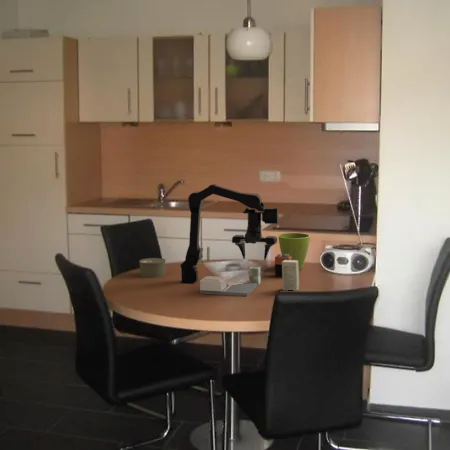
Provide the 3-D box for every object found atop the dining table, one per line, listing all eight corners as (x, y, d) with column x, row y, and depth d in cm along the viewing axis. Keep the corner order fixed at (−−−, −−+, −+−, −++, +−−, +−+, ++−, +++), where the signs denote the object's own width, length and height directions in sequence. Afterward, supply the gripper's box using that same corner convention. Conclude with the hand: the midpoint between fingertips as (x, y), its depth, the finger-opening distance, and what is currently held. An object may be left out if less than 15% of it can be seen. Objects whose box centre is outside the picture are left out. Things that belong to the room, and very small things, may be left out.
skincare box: (299, 288, 280) (299, 260, 278) (297, 291, 276) (297, 262, 274) (284, 287, 282) (284, 259, 280) (281, 290, 278) (281, 261, 276)
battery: (289, 277, 301) (289, 255, 299) (274, 276, 303) (274, 254, 302) (291, 275, 305) (291, 253, 303) (277, 274, 307) (277, 252, 306)
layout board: (199, 293, 275) (199, 290, 275) (212, 283, 291) (212, 280, 291) (247, 296, 270) (246, 293, 269) (257, 286, 286) (256, 283, 286)
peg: (249, 284, 289) (249, 268, 288) (251, 282, 293) (251, 266, 292) (258, 284, 288) (258, 269, 287) (260, 282, 292) (260, 267, 291)
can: (170, 275, 308) (170, 260, 307) (147, 279, 302) (146, 264, 301) (158, 271, 318) (157, 256, 317) (135, 274, 312) (134, 260, 311)
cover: (200, 290, 274) (200, 279, 273) (205, 286, 281) (205, 275, 280) (221, 291, 272) (221, 280, 271) (226, 287, 278) (226, 276, 277)
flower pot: (311, 271, 311) (311, 238, 309) (279, 272, 312) (279, 238, 309) (308, 265, 326) (308, 232, 324) (277, 265, 326) (277, 233, 324)
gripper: (228, 225, 282) (228, 262, 284) (271, 227, 276) (271, 264, 279) (235, 221, 292) (235, 257, 294) (277, 223, 287) (277, 258, 289)
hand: (254, 259), depth 289 cm, fingers open, 9 cm apart
